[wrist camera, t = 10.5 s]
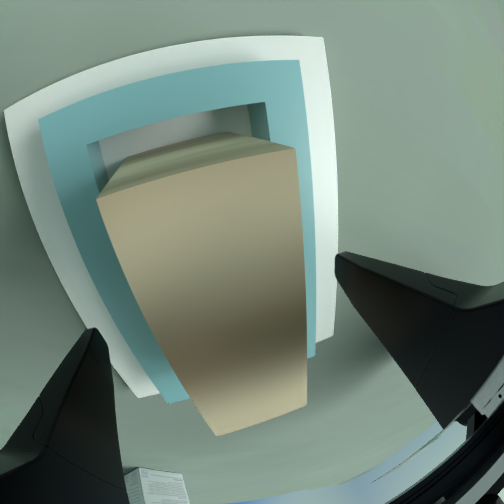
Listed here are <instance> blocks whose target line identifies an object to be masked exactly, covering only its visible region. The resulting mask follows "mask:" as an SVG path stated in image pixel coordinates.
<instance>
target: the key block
mask: <svg viewBox="0 0 504 504" xmlns="http://www.w3.org/2000/svg"><path fill="white" fill-rule="evenodd" d="M96 201H97V204H98V207H99V210H100V213H101V215H102V218H103V221H104V224H105V227H106V229H107V232H108V235H109V237H110V240H111V243H112V245H113V248H114V250H115V253H116V255H117V258H118V260H119V263H120V265H121V267H122V270H123V272H124V274H125V277H126V279H127V281H128V283H129V286H130V288H131V290H132V292H133V294H134V296H135V299H136V301H137V303H138V305H139V307H140V309H141V311H142V313H143V315H144V317H145V319H146V321H147V323H148V325H149V327H150V329H151V331H152V333H153V335H154V337H155V339H156V340H157V342H158V344H159V346H160V348H161V350H162V351H163V353H164V355H165V357H166V359H167V360H168V362H169V364H170V366H171V367H172V369H173V371H174V372H175V374H176V376H177V377H178V379H179V381H180V382H181V384H182V386H183V387H184V389H185V390H186V392H187V394H188V395H189V397H190V398H191V400H192V401H193V403H194V405H195V406H196V408H197V409H198V411H199V412H200V414H201V415H202V417H203V418H204V419H205V421H206V422H207V424H208V425H209V427H210V428H211V430H212V431H213V432H214V434H215V435H216V436H220V435H224V434H227V433H230V432H234V431H237V430H240V429H243V428H247V427H250V426H253V425H256V424H259V423H261V422H264V421H267V420H270V419H273V418H275V417H278V416H281V415H283V414H286V413H288V412H291V411H293V410H296V409H298V408H301V407H303V406H305V405H307V312H306V283H305V262H304V244H303V229H302V215H301V202H300V190H299V179H298V168H297V158H296V149H295V148H293V147H289V146H286V145H282V144H278V143H274V142H270V141H266V140H262V139H258V138H254V137H250V136H246V135H241V134H237V133H232V132H227V131H226V132H221V133H216V134H211V135H207V136H202V137H198V138H194V139H189V140H185V141H181V142H177V143H173V144H170V145H166V146H162V147H158V148H155V149H151V150H148V151H145V152H141V153H138V154H135V155H131V156H128V157H127V158H126V159H125V161H124V162H123V163H122V164H121V166H120V167H119V168H118V170H117V171H116V172H115V174H114V175H113V176H112V178H111V179H110V180H109V182H108V183H107V184H106V186H105V187H104V189H103V190H102V191H101V193H100V194H99V196H98V197H97V199H96Z"/></svg>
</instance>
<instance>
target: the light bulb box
mask: <svg viewBox="0 0 504 504" xmlns="http://www.w3.org/2000/svg"><path fill="white" fill-rule="evenodd" d="M124 479H125V484H126V489H127V491H126V492H127V493H128V498H129V502H130V504H190V502H189V499H188V495H187V492H186V488H185V484H184V481H183V477H182V474H180V473H171V472H164V471H158V470H151V469H146V468H140V467H138V468H137V469H135V470H133V471H132V472H130V473H128V474H126V475H125V476H124Z"/></svg>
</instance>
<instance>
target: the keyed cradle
mask: <svg viewBox="0 0 504 504" xmlns="http://www.w3.org/2000/svg"><path fill="white" fill-rule="evenodd" d="M4 115H5V121H6V126H7V132H8V137H9V141H10V146H11V150H12V155H13V159H14V162H15V166H16V170H17V173H18V177H19V180H20V184H21V187H22V190H23V193H24V196H25V199H26V202H27V205H28V208H29V211H30V213H31V216H32V219H33V221H34V224H35V226H36V229H37V231H38V234H39V236H40V239H41V241H42V243H43V246H44V248H45V250H46V252H47V255H48V257H49V259H50V261H51V263H52V265H53V267H54V269H55V271H56V273H57V275H58V277H59V279H60V281H61V283H62V285H63V287H64V289H65V291H66V293H67V295H68V296H69V298H70V300H71V302H72V303H73V305H74V307H75V309H76V310H77V312H78V314H79V315H80V317H81V319H82V320H83V322H84V324H85V325H86V327H87V329H89V328H93V327H96V328H97V329H98V330H99V332H100V333H101V335H102V336H103V338H104V339H105V341H106V343H107V345H108V348H109V355H110V363H111V364H112V365H113V367H114V368H115V369H116V371H117V372H118V373H119V375H120V376H121V377H122V379H123V380H124V381H125V382H126V384H127V385H128V386H129V387H130V389H131V390H132V391H133V392H134V394H135V395H136V396H137V397H138V398H141V397H146V396H150V395H155V394H159V393H160V394H161V395H162V396H163V398H164V399H165V400H166V402H167V403H168V404H169V403H174V402H178V401H182V400H186V399H190V397H189V395H188V394H187V392H186V390H185V389H184V387H183V386H182V384H181V382H180V381H179V379H178V377H177V376H176V374H175V372H174V371H173V369H172V367H171V366H170V364H169V362H168V360H167V359H166V357H165V355H164V353H163V351H162V350H161V348H160V346H159V344H158V342H157V340H156V339H155V337H154V335H153V333H152V331H151V329H150V327H149V325H148V323H147V321H146V319H145V317H144V315H143V313H142V311H141V309H140V307H139V305H138V303H137V301H136V299H135V296H134V294H133V292H132V290H131V288H130V286H129V283H128V281H127V279H126V277H125V274H124V272H123V270H122V267H121V265H120V263H119V260H118V258H117V255H116V253H115V250H114V248H113V245H112V243H111V240H110V237H109V235H108V232H107V229H106V227H105V224H104V221H103V218H102V215H101V213H100V210H99V207H98V204H97V201H96V199H97V197H98V196H99V194H100V193H101V191H102V190H103V189H104V187H105V186H106V184H107V183H108V182H109V180H110V179H111V178H112V176H113V175H114V174H115V172H116V171H117V170H118V168H119V167H120V166H121V164H122V163H123V162H124V161H125V159H126V158H127V157H128V156H131V155H135V154H138V153H141V152H145V151H148V150H151V149H155V148H158V147H162V146H166V145H170V144H173V143H177V142H181V141H185V140H189V139H194V138H198V137H202V136H207V135H211V134H216V133H221V132H226V131H227V132H232V133H237V134H241V135H246V136H250V137H254V138H258V139H262V140H266V141H270V142H274V143H278V144H282V145H286V146H289V147H293V148H295V149H296V158H297V168H298V179H299V190H300V202H301V215H302V229H303V244H304V262H305V283H306V312H307V359H309V358H311V357H313V356H315V347H316V343H317V342H319V341H322V340H324V339H326V338H329V337H331V336H333V332H334V320H335V305H336V288H337V279H336V277H335V273H334V269H335V256H336V254H338V189H337V164H336V146H335V132H334V120H333V109H332V99H331V90H330V82H329V74H328V67H327V60H326V53H325V47H324V40H323V37H309V36H245V37H231V38H221V39H212V40H204V41H197V42H190V43H184V44H179V45H173V46H168V47H163V48H159V49H154V50H150V51H146V52H142V53H138V54H134V55H131V56H127V57H124V58H120V59H117V60H114V61H111V62H108V63H105V64H102V65H99V66H96V67H93V68H90V69H88V70H85V71H82V72H80V73H77V74H75V75H72V76H70V77H68V78H65V79H63V80H61V81H58V82H56V83H54V84H52V85H50V86H48V87H46V88H43V89H41V90H39V91H37V92H35V93H34V94H32V95H30V96H28V97H26V98H24V99H22V100H21V101H19V102H17V103H15V104H14V105H12V106H10V107H8V108H7V109H5V110H4Z"/></svg>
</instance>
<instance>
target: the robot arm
mask: <svg viewBox="0 0 504 504" xmlns="http://www.w3.org/2000/svg"><path fill="white" fill-rule="evenodd" d="M334 273H335V277H336V279H337V281H338V282H339V284H340V285H341V287H342V289H343V290H344V292H345V293H346V295H347V297H348V298H349V300H350V301H351V303H352V305H353V306H354V307H355V309H356V310H357V312H358V313H359V314H360V315H361V317H362V318H363V319H364V320H365V322H366V323H367V324H368V326H369V327H370V328H371V330H372V331H373V332H374V333H375V335H376V336H377V337H378V339H379V340H380V341H381V343H382V344H383V345H384V347H385V348H386V349H387V351H388V352H389V353H390V355H391V356H392V357H393V359H394V360H395V361H396V363H397V364H398V365H399V367H400V368H401V370H402V371H403V372H404V374H405V375H406V376H407V378H408V379H409V381H410V382H411V383H412V385H413V386H414V388H415V389H416V391H417V392H418V393H419V395H420V396H421V398H422V399H423V401H424V402H425V403H426V405H427V406H428V408H429V409H430V411H431V412H432V414H433V415H434V416H435V418H436V419H437V421H438V422H439V424H440V425H441V427H442V428H443V429H445V428H446V427H448V426H449V425H450V424H451V423H452V422H453V421H458V422H459V423H460V424H462V425H464V426H467V435H466V441H465V442H464V443H463V444H462V445H461V446H460V447H459V448H458V449H456V450H455V451H454V452H453V453H452V454H451V455H450V456H449V457H448V458H446V459H445V460H444V461H443V462H442V463H441V464H439V465H438V466H437V467H436V468H434V469H433V470H432V471H431V472H429V473H428V474H427V475H426V476H424V477H423V478H422V479H420V480H419V481H418V482H416V483H415V484H414V485H412V486H411V487H409V488H408V489H406V490H405V491H404V492H402V493H401V494H399V495H398V496H396V497H395V498H393V499H392V500H390V501H388V502H387V503H385V504H504V503H503V501H502V500H501V498H500V497H499V496H498V495H497V494H498V493H499V492H500V491H501V490H502V489H503V488H504V282H502V283H500V284H497V285H494V286H480V285H475V284H471V283H466V282H461V281H457V280H452V279H448V278H443V277H440V276H436V275H432V274H429V273H424V272H421V271H418V270H414V269H410V268H407V267H403V266H399V265H396V264H392V263H388V262H384V261H381V260H377V259H373V258H369V257H365V256H362V255H358V254H354V253H350V252H346V251H345V252H341V253H338V254H336V256H335V269H334ZM39 396H40V397H38V398H37V399H36V401H35V403H34V404H33V406H32V407H31V409H30V410H29V412H28V413H27V415H26V416H25V418H24V419H23V420H22V422H21V423H20V425H19V426H18V427H17V429H16V430H15V432H14V433H13V434H12V436H11V437H10V439H9V440H8V442H7V443H6V445H5V446H4V447H3V448H2V449H1V450H0V504H130V502H129V498H128V493H127V492H126V491H127V489H126V484H125V479H124V474H123V468H122V462H121V456H120V449H119V441H118V433H117V423H116V412H115V399H114V384H113V377H112V370H111V363H110V355H109V348H108V345H107V343H106V341H105V339H104V338H103V336H102V335H101V333H100V332H99V330H98V329H97V328H96V327H93V328H89V329H86V330H85V331H84V333H83V334H82V335H81V337H80V338H79V339H78V341H77V342H76V343H75V345H74V346H73V347H72V349H71V350H70V351H69V353H68V354H67V356H66V357H65V358H64V360H63V361H62V363H61V364H60V365H59V367H58V368H57V370H56V371H55V373H54V374H53V375H52V377H51V378H50V380H49V381H48V383H47V384H46V386H45V387H44V389H43V390H42V392H41V393H40V395H39Z"/></svg>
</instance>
